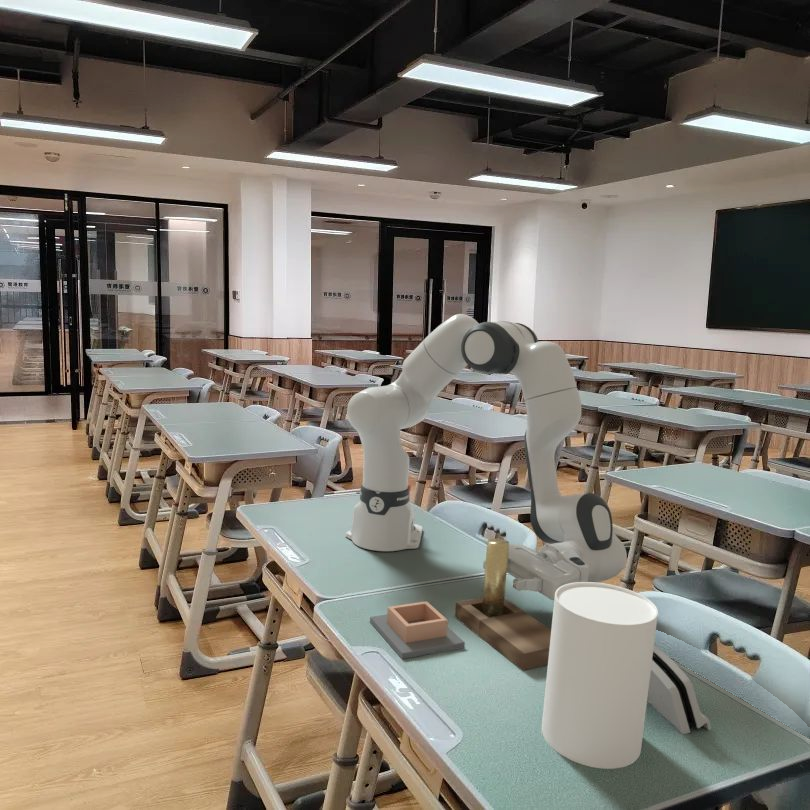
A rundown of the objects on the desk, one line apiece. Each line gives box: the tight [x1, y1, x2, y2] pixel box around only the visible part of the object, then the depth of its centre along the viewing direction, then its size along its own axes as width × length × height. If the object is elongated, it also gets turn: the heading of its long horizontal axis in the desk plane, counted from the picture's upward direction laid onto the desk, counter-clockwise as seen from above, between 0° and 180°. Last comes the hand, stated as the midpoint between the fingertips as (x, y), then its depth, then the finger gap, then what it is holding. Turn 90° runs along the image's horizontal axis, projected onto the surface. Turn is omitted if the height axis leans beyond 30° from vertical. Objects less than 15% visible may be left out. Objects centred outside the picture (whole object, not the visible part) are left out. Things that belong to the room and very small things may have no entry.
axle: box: [482, 538, 510, 618], centre depth 128 cm, size 4×4×16 cm
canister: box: [541, 582, 659, 770], centre depth 95 cm, size 14×14×20 cm
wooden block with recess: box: [454, 596, 551, 671], centre depth 124 cm, size 21×10×3 cm, turn 28°
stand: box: [369, 601, 466, 660], centre depth 123 cm, size 14×12×4 cm
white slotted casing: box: [647, 644, 712, 735], centre depth 106 cm, size 17×5×10 cm, turn 15°
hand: (499, 575), depth 129 cm, fingers open, 8 cm apart
